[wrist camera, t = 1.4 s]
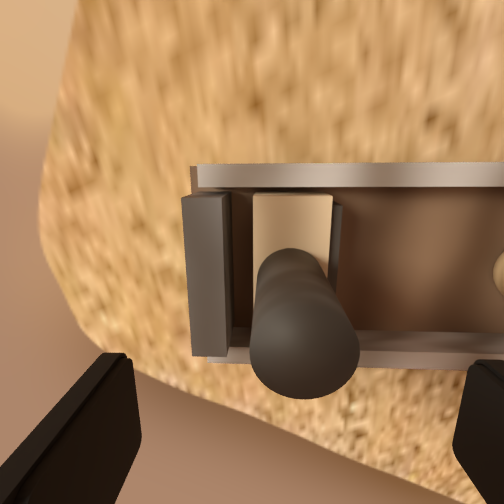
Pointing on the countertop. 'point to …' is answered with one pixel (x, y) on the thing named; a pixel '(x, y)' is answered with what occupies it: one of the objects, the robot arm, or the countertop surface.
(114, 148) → the countertop surface
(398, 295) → the base
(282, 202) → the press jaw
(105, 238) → the countertop surface
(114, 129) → the countertop surface
